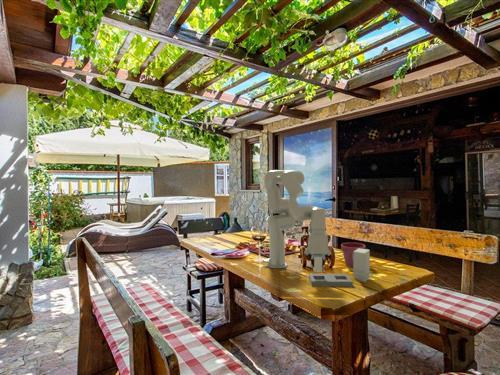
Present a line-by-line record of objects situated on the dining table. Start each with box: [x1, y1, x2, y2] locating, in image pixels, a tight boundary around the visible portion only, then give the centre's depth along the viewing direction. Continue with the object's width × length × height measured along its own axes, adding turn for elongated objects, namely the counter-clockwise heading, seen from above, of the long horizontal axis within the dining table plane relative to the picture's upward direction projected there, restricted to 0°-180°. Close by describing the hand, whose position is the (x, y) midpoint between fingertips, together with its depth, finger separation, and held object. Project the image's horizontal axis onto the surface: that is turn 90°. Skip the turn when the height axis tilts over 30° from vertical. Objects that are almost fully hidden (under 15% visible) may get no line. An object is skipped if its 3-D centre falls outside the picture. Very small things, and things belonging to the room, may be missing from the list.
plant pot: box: [340, 242, 366, 268], centre depth 184 cm, size 14×14×13 cm
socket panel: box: [308, 273, 354, 287], centre depth 153 cm, size 20×12×3 cm, turn 85°
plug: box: [312, 254, 323, 273], centre depth 154 cm, size 4×4×9 cm
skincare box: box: [352, 248, 371, 283], centre depth 158 cm, size 8×7×16 cm
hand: (317, 266), depth 154 cm, fingers closed on plug, 4 cm apart
